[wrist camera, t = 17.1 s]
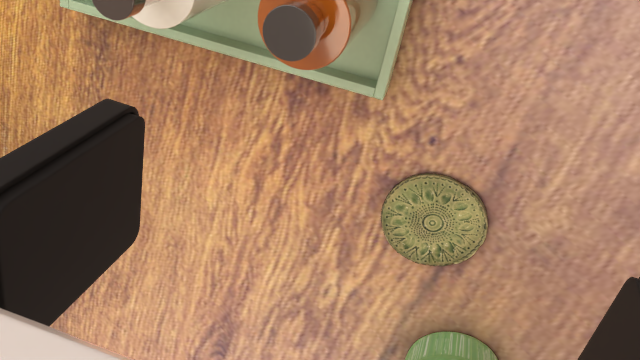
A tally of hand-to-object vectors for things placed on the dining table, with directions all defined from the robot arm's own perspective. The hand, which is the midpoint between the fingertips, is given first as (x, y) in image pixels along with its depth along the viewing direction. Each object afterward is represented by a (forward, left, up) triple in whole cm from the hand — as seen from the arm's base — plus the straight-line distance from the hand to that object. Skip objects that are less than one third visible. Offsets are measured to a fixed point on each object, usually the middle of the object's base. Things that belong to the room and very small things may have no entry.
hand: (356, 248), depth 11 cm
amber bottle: (+7, +2, -30) cm, 31 cm away
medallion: (-4, +17, -30) cm, 35 cm away
